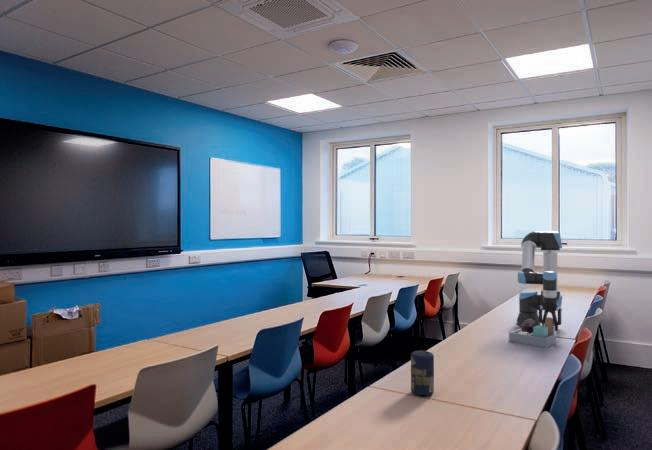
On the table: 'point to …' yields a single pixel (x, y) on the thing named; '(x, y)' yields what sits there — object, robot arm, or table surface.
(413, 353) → the canister
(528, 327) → the rock
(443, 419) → the table surface
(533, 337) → the lane rack
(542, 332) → the block
